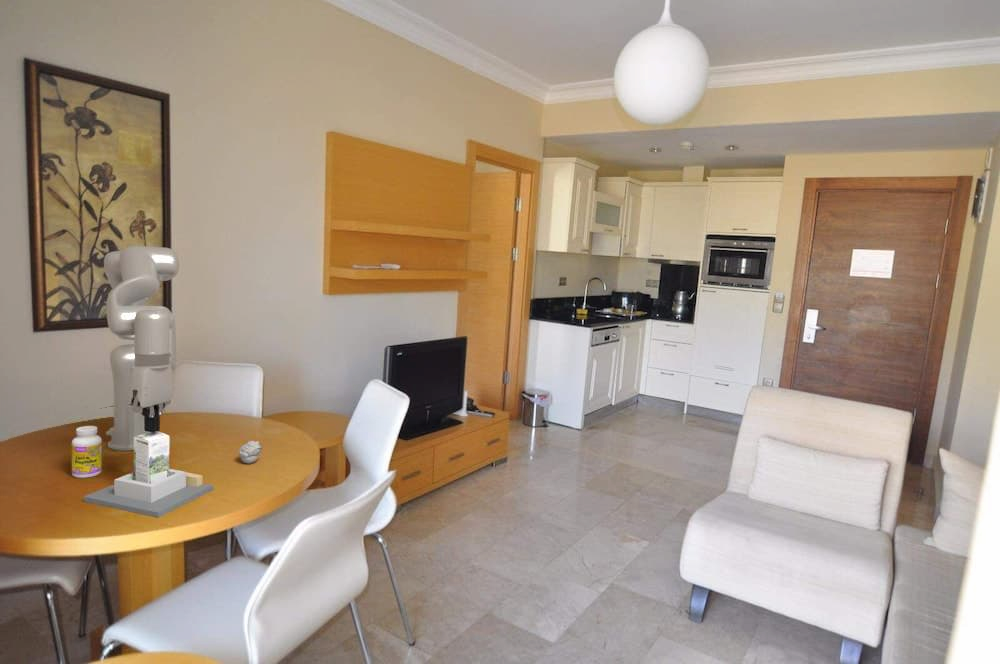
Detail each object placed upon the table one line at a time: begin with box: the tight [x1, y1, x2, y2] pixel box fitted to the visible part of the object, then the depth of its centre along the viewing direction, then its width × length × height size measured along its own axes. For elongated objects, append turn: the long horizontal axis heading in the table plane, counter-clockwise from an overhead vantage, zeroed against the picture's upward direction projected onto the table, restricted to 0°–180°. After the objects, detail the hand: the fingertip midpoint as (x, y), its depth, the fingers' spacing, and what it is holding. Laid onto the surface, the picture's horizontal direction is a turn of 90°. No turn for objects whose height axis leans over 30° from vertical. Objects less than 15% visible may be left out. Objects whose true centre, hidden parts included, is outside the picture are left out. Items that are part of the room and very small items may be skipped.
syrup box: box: [132, 431, 171, 484], centre depth 148 cm, size 6×6×14 cm
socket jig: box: [83, 468, 214, 518], centre depth 149 cm, size 22×18×5 cm
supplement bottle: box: [71, 425, 103, 479], centre depth 158 cm, size 7×7×13 cm
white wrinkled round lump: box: [238, 440, 263, 464], centre depth 175 cm, size 6×7×7 cm
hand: (152, 430), depth 148 cm, fingers closed
